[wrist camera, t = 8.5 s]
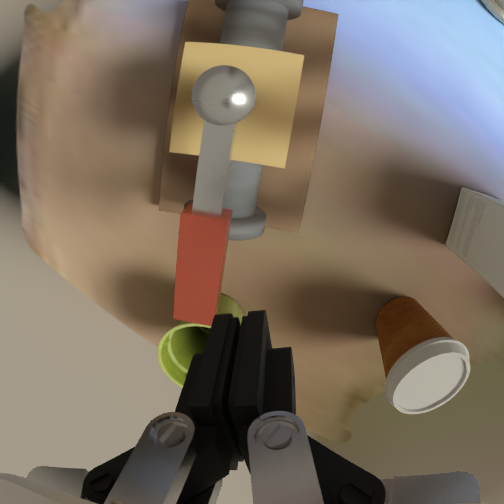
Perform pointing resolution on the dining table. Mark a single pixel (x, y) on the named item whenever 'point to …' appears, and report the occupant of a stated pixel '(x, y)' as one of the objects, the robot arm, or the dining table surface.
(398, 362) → the disposable coffee cup
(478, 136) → the dining table surface
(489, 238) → the supplement box
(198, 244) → the lever
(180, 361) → the plant pot
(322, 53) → the valve stand
